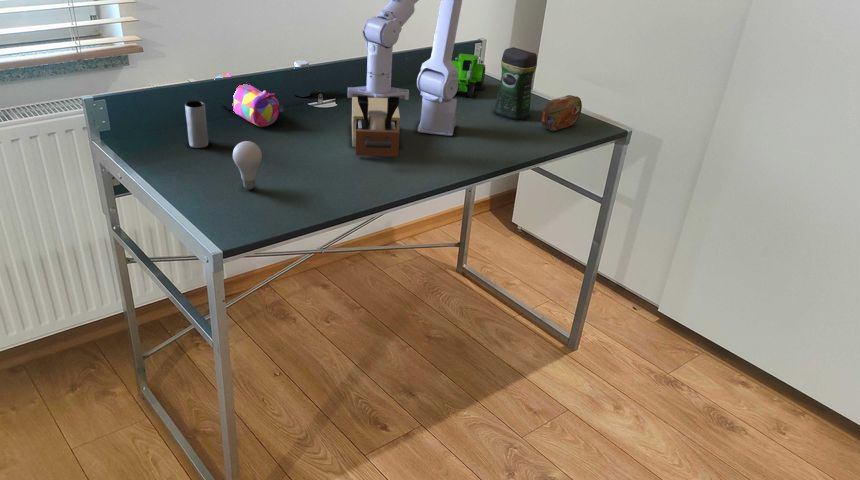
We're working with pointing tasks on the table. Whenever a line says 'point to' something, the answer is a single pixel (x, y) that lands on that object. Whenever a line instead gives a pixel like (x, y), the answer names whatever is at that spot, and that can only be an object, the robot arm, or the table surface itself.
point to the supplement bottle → (301, 63)
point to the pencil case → (255, 104)
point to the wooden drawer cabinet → (372, 105)
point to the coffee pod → (377, 120)
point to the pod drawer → (376, 140)
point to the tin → (561, 112)
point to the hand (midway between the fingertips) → (377, 126)
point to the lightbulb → (247, 162)
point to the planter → (196, 124)
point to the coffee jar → (516, 83)
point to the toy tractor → (469, 73)
